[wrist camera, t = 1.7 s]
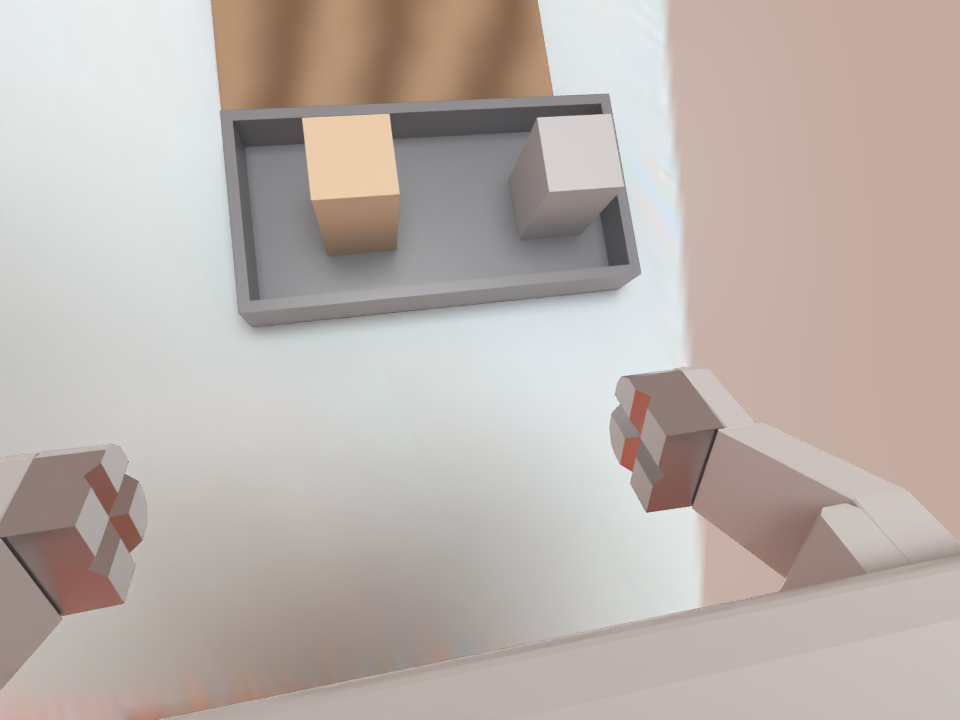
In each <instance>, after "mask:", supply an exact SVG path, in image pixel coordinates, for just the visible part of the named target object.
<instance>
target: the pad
mask: <svg viewBox="0 0 960 720" xmlns="http://www.w3.org/2000/svg"><path fill="white" fill-rule="evenodd" d="M211 4H212V15H213V26H214V37H215V47H216V58H217V69H218V80H219V91H220V102H221V111H224V110H247V109H269V108H292V107H315V106H338V105H361V104H384V103H407V102H429V101H452V100H475V99H498V98H521V97H544V96H553V90H552V84H551V78H550V72H549V66H548V60H547V54H546V48H545V42H544V36H543V30H542V24H541V18H540V12H539V6H538V0H211Z"/></svg>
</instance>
